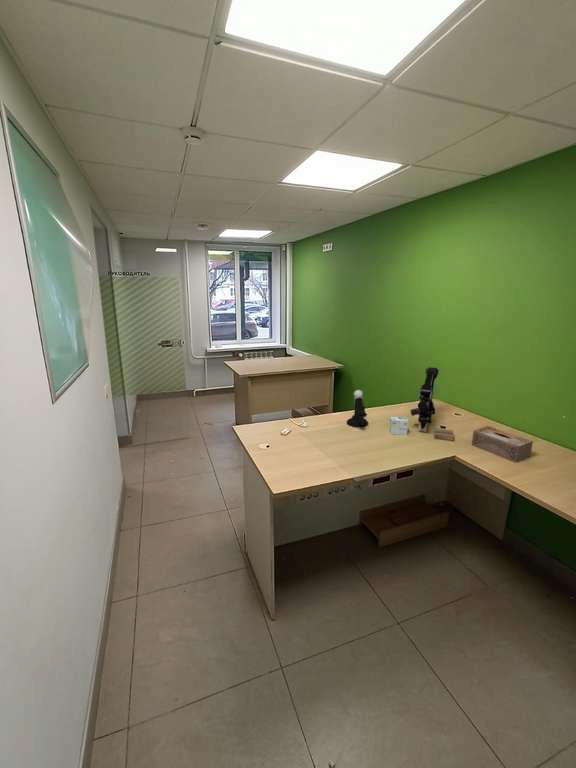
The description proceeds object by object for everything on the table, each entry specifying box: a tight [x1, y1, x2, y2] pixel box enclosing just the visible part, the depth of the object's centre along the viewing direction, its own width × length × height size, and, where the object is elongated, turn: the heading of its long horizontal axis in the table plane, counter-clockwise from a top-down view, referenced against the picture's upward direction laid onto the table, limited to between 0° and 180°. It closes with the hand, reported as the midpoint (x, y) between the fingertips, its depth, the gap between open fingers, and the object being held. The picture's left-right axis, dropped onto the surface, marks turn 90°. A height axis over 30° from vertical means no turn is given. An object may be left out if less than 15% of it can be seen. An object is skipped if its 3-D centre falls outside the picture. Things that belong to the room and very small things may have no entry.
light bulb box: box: [389, 416, 409, 436], centre depth 223 cm, size 11×7×11 cm, turn 84°
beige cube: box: [417, 422, 428, 432], centre depth 227 cm, size 5×5×6 cm
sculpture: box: [346, 389, 369, 428], centre depth 234 cm, size 15×24×25 cm, turn 1°
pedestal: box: [433, 428, 455, 442], centre depth 217 cm, size 11×11×3 cm
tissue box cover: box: [471, 425, 534, 464], centre depth 197 cm, size 26×14×10 cm, turn 28°
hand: (422, 427), depth 227 cm, fingers closed on beige cube, 5 cm apart
